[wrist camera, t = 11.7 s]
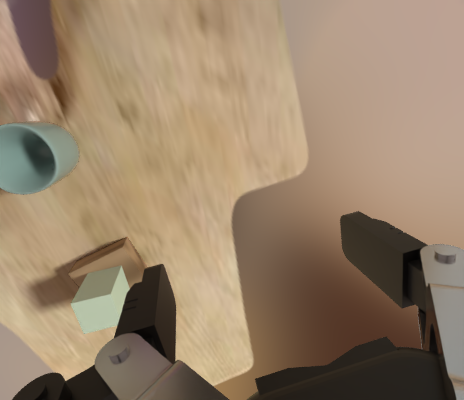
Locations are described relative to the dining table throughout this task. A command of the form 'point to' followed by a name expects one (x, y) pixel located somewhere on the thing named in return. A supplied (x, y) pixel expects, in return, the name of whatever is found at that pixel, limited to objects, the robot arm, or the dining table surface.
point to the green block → (100, 299)
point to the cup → (35, 156)
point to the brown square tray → (111, 262)
